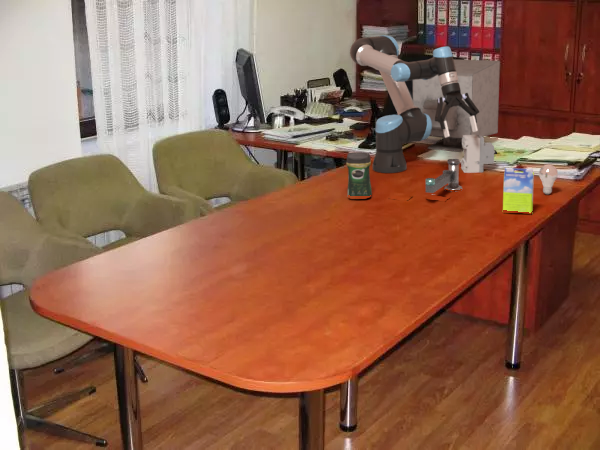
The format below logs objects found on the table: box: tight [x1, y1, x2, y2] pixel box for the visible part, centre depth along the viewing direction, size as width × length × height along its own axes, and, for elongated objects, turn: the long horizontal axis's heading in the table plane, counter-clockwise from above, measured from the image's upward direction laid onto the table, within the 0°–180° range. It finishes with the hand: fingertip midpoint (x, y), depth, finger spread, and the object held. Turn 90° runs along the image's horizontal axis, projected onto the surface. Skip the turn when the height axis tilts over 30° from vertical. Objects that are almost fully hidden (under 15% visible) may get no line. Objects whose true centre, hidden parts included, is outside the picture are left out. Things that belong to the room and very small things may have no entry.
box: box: [502, 167, 535, 213], centre depth 298 cm, size 10×4×17 cm, turn 72°
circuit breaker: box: [460, 134, 498, 174], centre depth 358 cm, size 8×14×15 cm, turn 89°
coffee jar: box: [345, 151, 373, 196], centre depth 325 cm, size 10×8×19 cm
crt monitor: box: [412, 58, 501, 153], centre depth 397 cm, size 35×37×40 cm
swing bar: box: [425, 169, 457, 194], centre depth 321 cm, size 22×5×6 cm, turn 148°
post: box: [444, 158, 463, 190], centre depth 332 cm, size 7×7×12 cm
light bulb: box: [538, 164, 559, 196], centre depth 319 cm, size 7×7×12 cm
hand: (461, 134), depth 341 cm, fingers open, 13 cm apart
